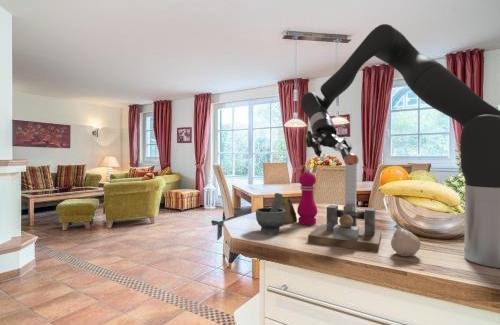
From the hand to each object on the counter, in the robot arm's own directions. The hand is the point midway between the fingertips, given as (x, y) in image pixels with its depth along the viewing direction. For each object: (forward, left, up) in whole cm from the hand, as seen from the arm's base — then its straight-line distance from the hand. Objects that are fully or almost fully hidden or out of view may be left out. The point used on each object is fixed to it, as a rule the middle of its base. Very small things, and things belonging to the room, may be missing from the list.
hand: (333, 156), depth 87 cm
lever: (-5, +1, -22) cm, 22 cm away
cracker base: (-4, +1, -24) cm, 25 cm away
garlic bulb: (-19, +9, -24) cm, 32 cm away
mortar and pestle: (+19, +2, -24) cm, 31 cm away
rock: (+21, -13, -24) cm, 35 cm away
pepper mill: (+12, -15, -24) cm, 31 cm away
